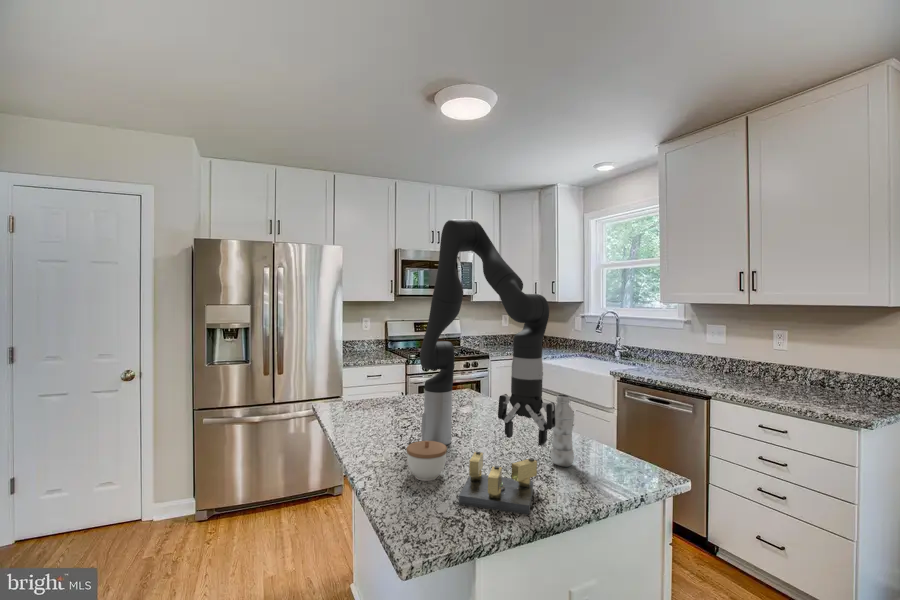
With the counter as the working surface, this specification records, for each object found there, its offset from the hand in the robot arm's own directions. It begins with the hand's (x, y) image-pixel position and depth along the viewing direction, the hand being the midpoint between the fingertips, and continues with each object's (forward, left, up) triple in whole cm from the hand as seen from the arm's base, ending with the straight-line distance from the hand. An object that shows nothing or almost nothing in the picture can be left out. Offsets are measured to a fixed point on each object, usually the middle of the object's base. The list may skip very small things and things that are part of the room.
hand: (525, 440), depth 103 cm
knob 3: (0, 0, -11) cm, 11 cm away
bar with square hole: (-6, -8, -11) cm, 15 cm away
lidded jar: (-26, +2, -13) cm, 29 cm away
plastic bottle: (+9, +21, -13) cm, 26 cm away
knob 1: (-12, 0, -11) cm, 16 cm away
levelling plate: (-6, -4, -13) cm, 15 cm away
